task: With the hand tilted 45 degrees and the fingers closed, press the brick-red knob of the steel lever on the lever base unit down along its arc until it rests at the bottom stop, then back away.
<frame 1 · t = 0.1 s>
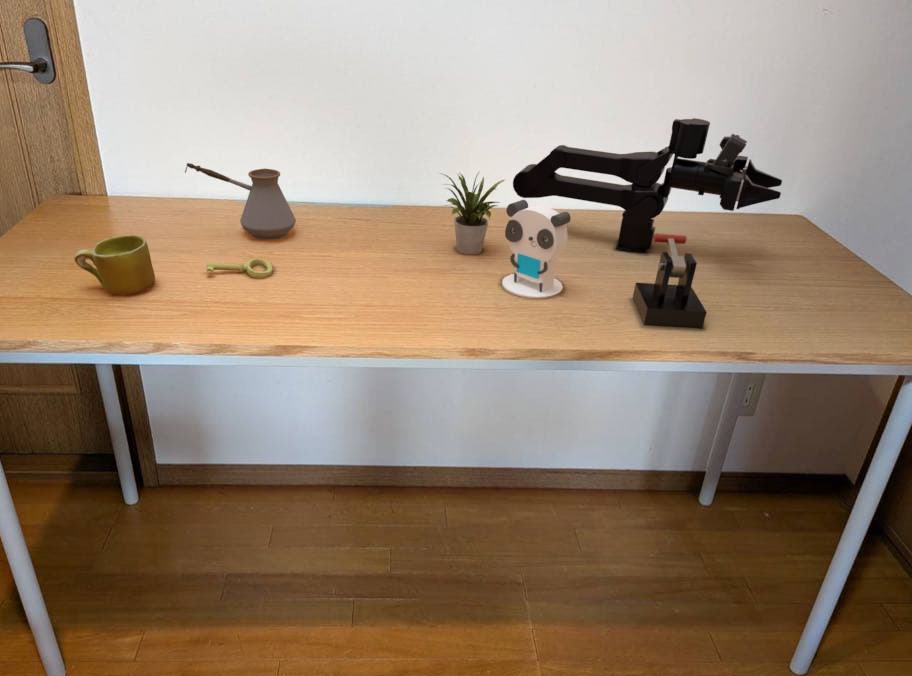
hand: (780, 188, 143), 17 cm above the table, tool horizontal, fingers open, 9 cm apart
house plant: (462, 250, 155), on the table
mug: (119, 288, 134), on the table
panda figurine: (530, 286, 141), on the table
lever base unit: (665, 314, 133), on the table
coffee pot: (245, 235, 158), on the table
switch lever: (673, 253, 130), point 10 cm above the table, hinge at 16.0°
key: (242, 273, 141), on the table
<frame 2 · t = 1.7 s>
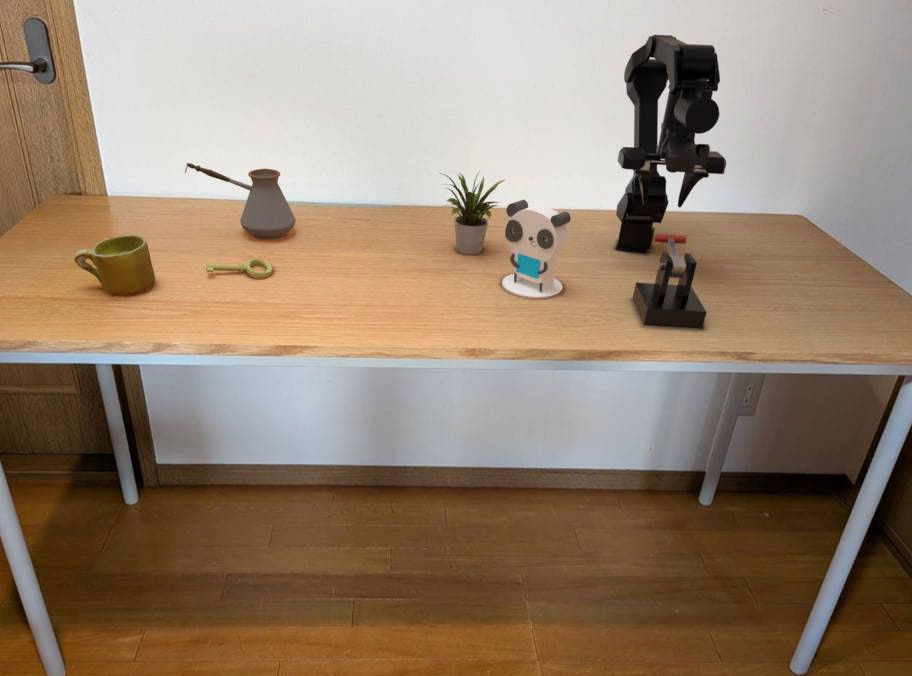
hand: (661, 205, 143), 13 cm above the table, tool pointing down, fingers open, 6 cm apart
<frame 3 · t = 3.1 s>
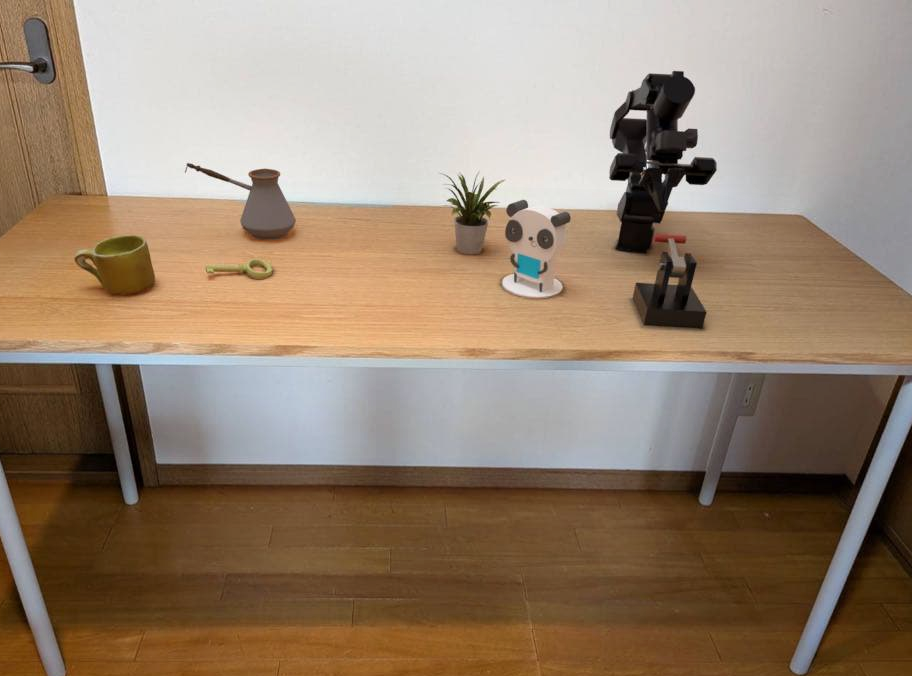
hand: (662, 210, 139), 13 cm above the table, tool tilted 45°, fingers closed
nothing on the table moved.
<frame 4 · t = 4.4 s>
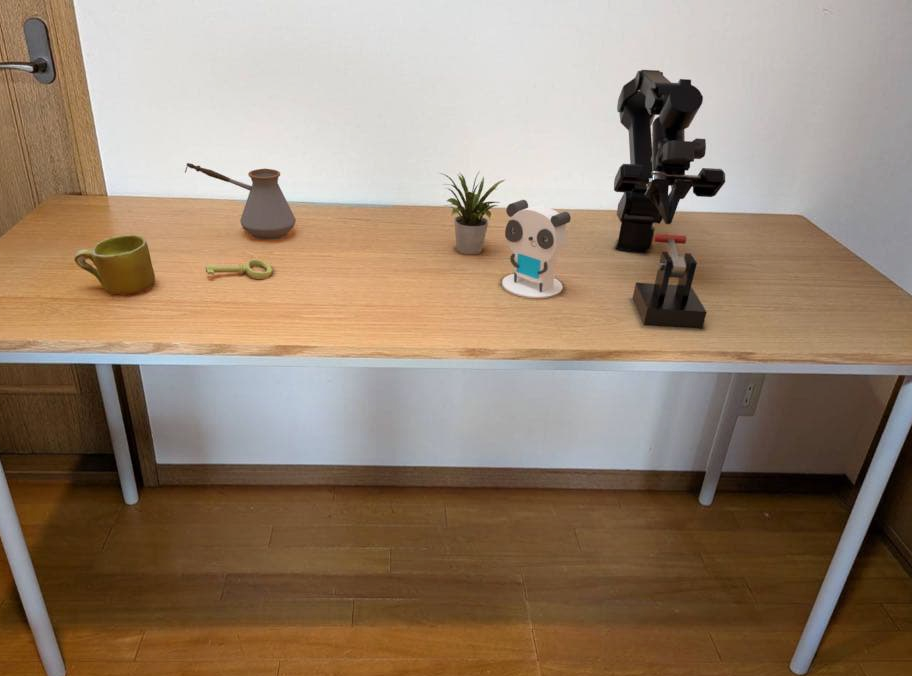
hand: (668, 223, 134), 13 cm above the table, tool tilted 45°, fingers closed
nothing on the table moved.
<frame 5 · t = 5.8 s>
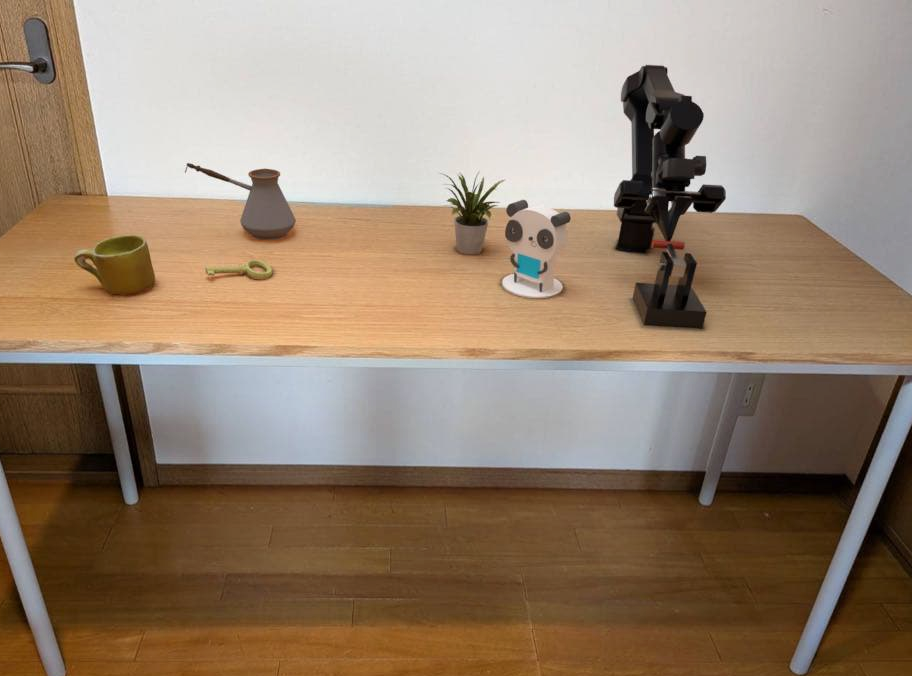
hand: (668, 240, 134), 11 cm above the table, tool tilted 45°, fingers closed, pressing on switch lever
switch lever: (672, 256, 131), point 9 cm above the table, hinge at 7.1°, touching gripper
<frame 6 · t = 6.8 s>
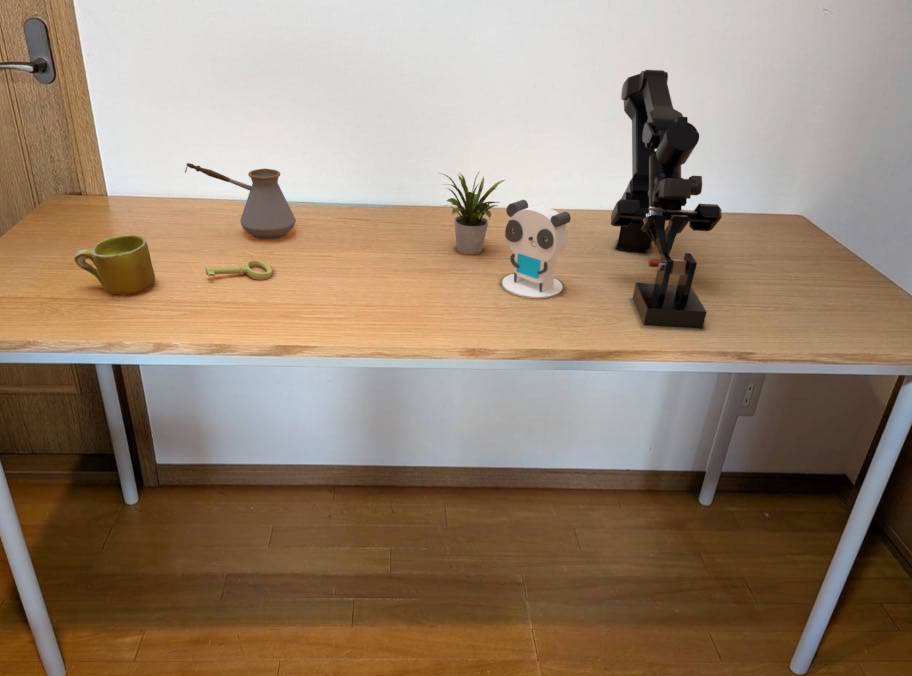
hand: (665, 258, 135), 7 cm above the table, tool tilted 45°, fingers closed, pressing on switch lever
switch lever: (670, 265, 131), point 8 cm above the table, hinge at -17.6°, touching gripper
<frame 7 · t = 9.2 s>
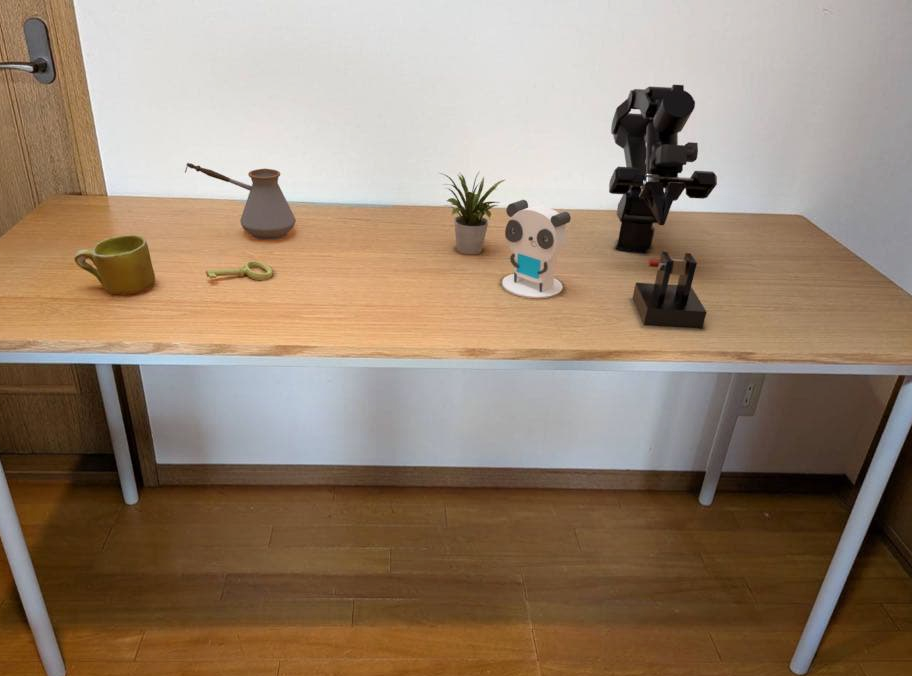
hand: (661, 224, 139), 12 cm above the table, tool tilted 45°, fingers closed
switch lever: (670, 265, 131), point 8 cm above the table, hinge at -17.7°
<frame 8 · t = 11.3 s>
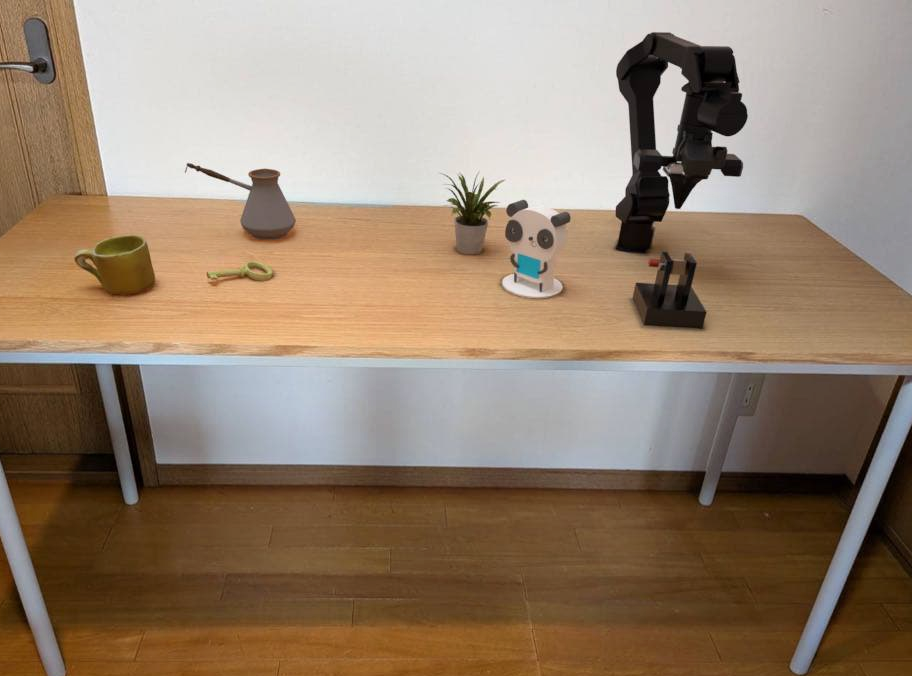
hand: (677, 208, 142), 13 cm above the table, tool pointing down, fingers closed
at the end: switch lever at -18° (first picture: +16°); switch lever reached -18° during the clip, -18° at the end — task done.
